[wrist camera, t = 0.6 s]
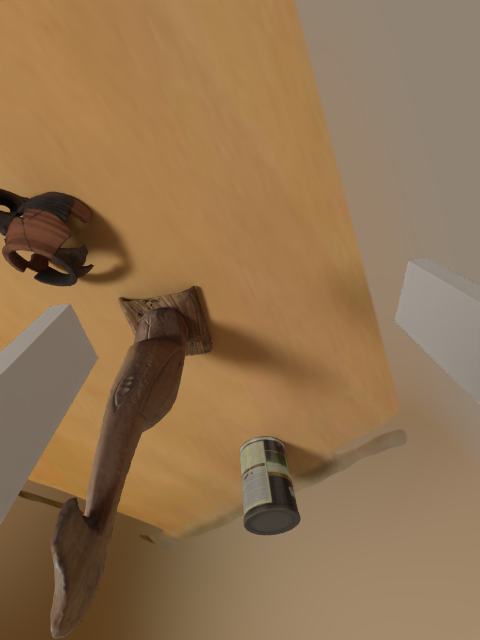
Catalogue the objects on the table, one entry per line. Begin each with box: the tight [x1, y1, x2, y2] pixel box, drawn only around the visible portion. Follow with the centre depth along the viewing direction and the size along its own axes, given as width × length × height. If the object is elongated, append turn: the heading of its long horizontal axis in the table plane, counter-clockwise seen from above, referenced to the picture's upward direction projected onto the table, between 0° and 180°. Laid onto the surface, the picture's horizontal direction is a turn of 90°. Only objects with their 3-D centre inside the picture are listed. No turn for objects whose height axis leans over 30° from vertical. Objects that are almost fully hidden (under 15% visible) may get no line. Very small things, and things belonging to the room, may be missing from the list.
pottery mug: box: [0, 189, 94, 286], centre depth 31 cm, size 12×10×8 cm
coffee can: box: [240, 437, 300, 535], centre depth 55 cm, size 10×10×14 cm
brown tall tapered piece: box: [51, 286, 212, 639], centre depth 28 cm, size 11×12×32 cm
